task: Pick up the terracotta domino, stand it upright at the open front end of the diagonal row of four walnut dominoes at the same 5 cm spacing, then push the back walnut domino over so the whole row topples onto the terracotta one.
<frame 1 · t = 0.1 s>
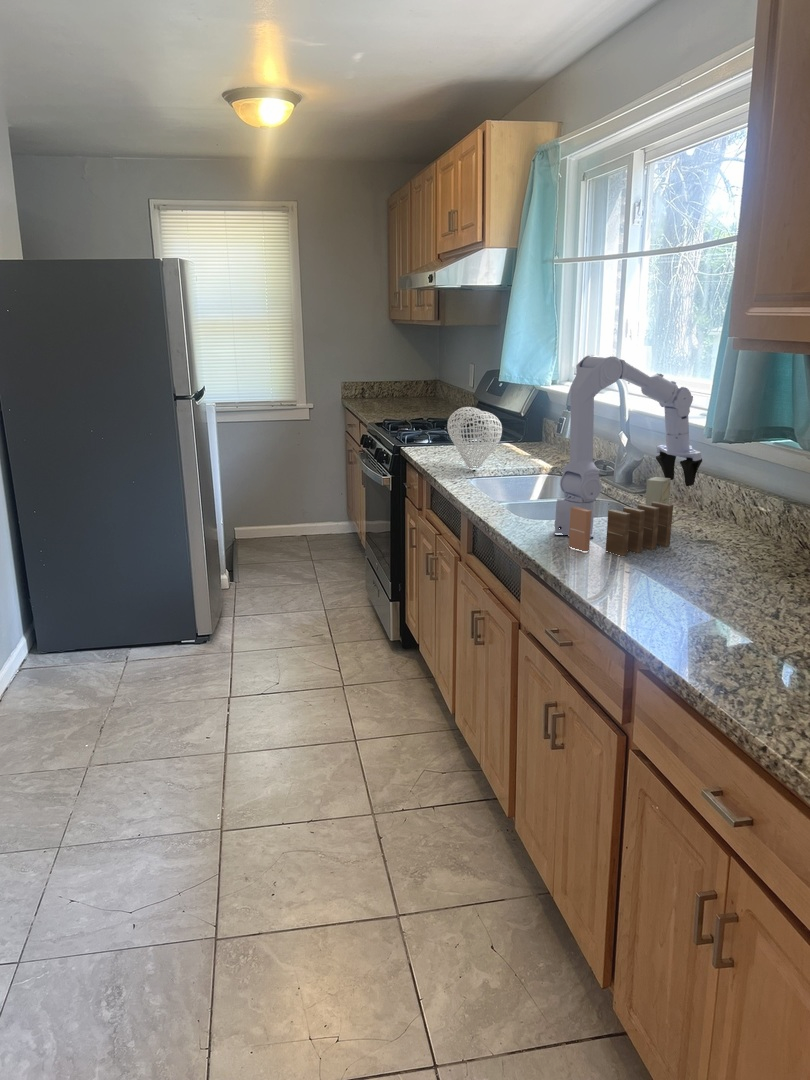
hand: (679, 482, 210), 11 cm above the worktop, tool pointing down, fingers open, 7 cm apart
skincare box: (655, 524, 211), on the worktop
terracotta tile: (578, 550, 186), on the worktop
walnut tile 3: (630, 550, 186), on the worktop
walnut tile 4: (616, 554, 184), on the worktop
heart: (473, 471, 287), on the worktop
walnut tile 2: (645, 547, 189), on the worktop
walnut tile 1: (659, 544, 192), on the worktop
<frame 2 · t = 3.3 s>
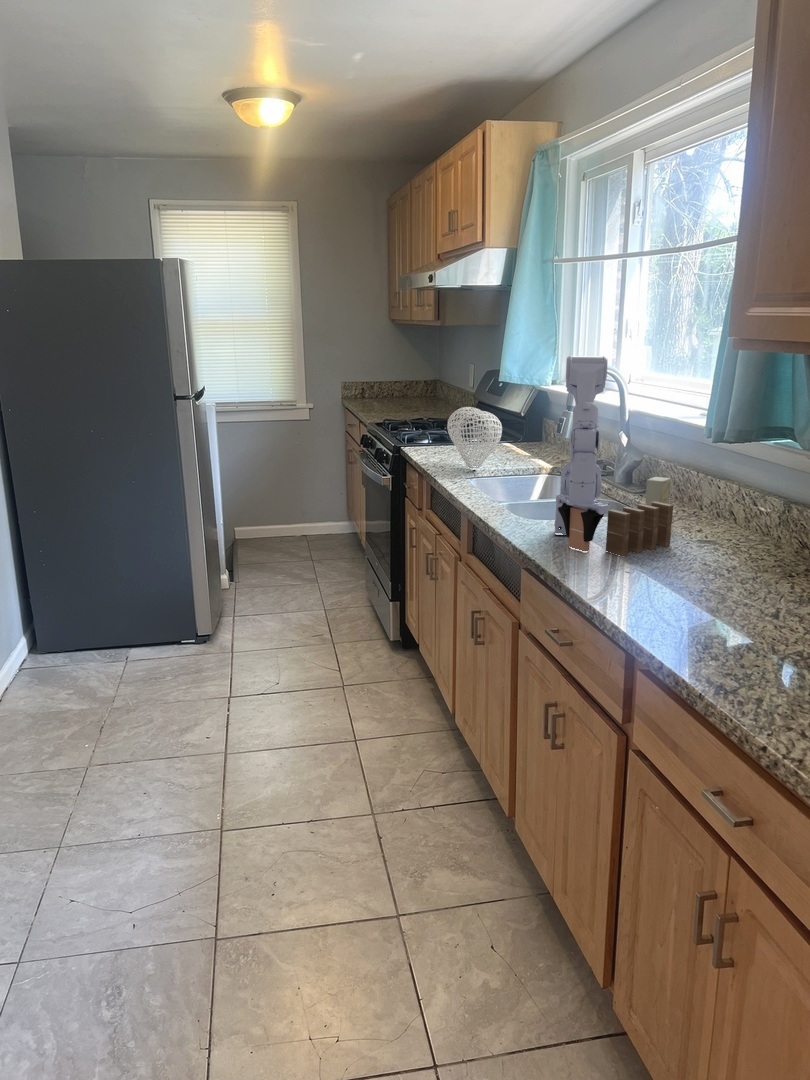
hand: (579, 538, 186), 3 cm above the worktop, tool pointing down, fingers closed on terracotta tile, 5 cm apart
terracotta tile: (578, 550, 186), on the worktop, touching gripper
everything else where it was.
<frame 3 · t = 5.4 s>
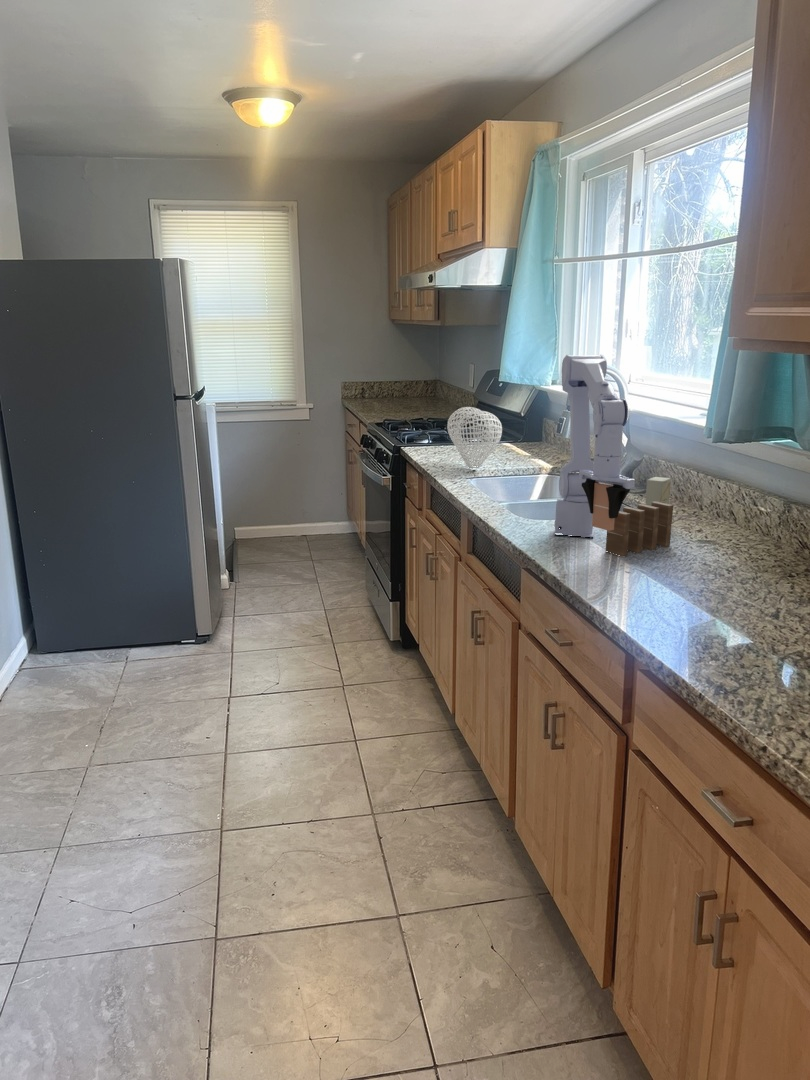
hand: (603, 515, 178), 10 cm above the worktop, tool pointing down, fingers closed on terracotta tile, 5 cm apart
terracotta tile: (602, 527, 179), point 7 cm above the worktop, touching gripper
everything else where it was.
when the fingers open (4 cm above the worktop, at t = 7.3 s): terracotta tile drops 1 cm, on the worktop.
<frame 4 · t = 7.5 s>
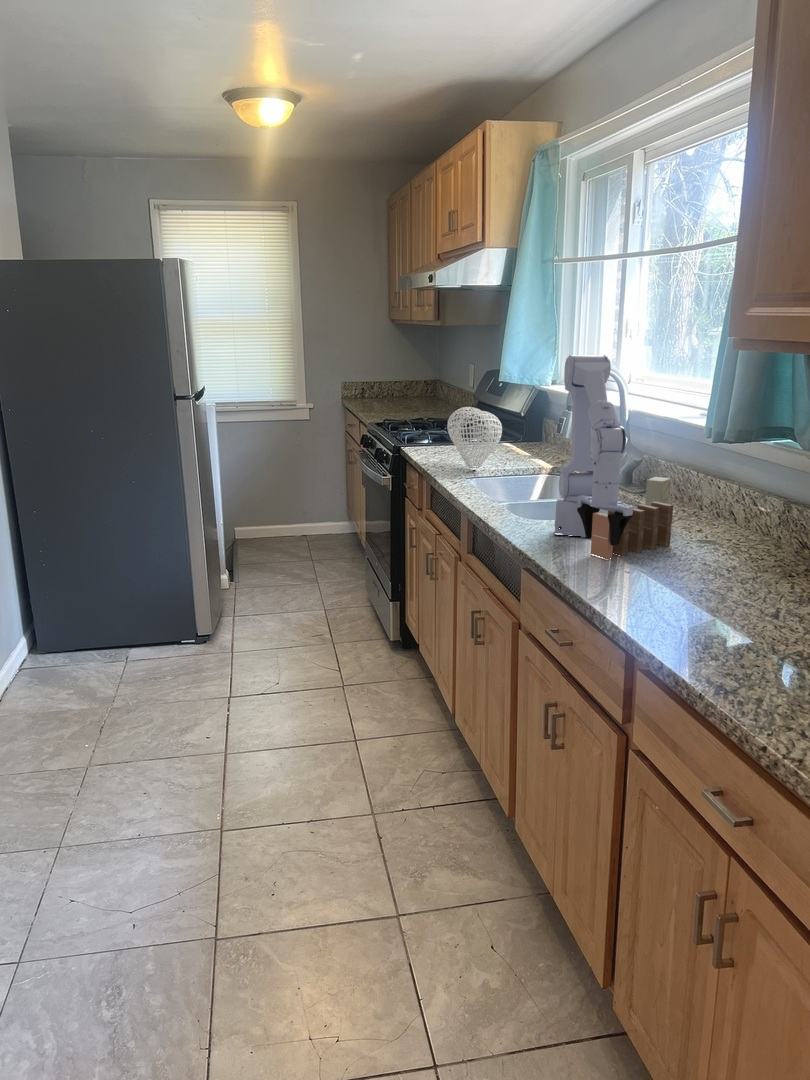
hand: (602, 540, 180), 4 cm above the worktop, tool pointing down, fingers open, 7 cm apart
terracotta tile: (601, 557, 181), on the worktop
everything else where it was.
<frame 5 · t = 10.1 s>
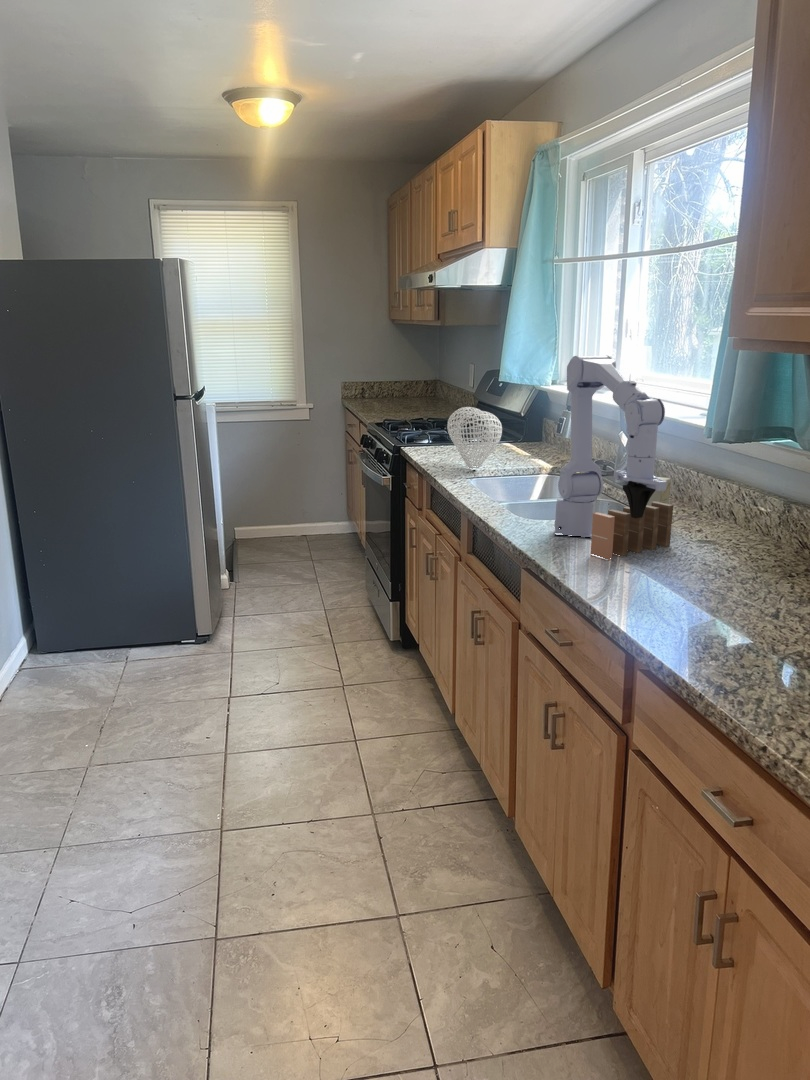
hand: (636, 517, 174), 10 cm above the worktop, tool pointing down, fingers closed
nothing on the worktop moved.
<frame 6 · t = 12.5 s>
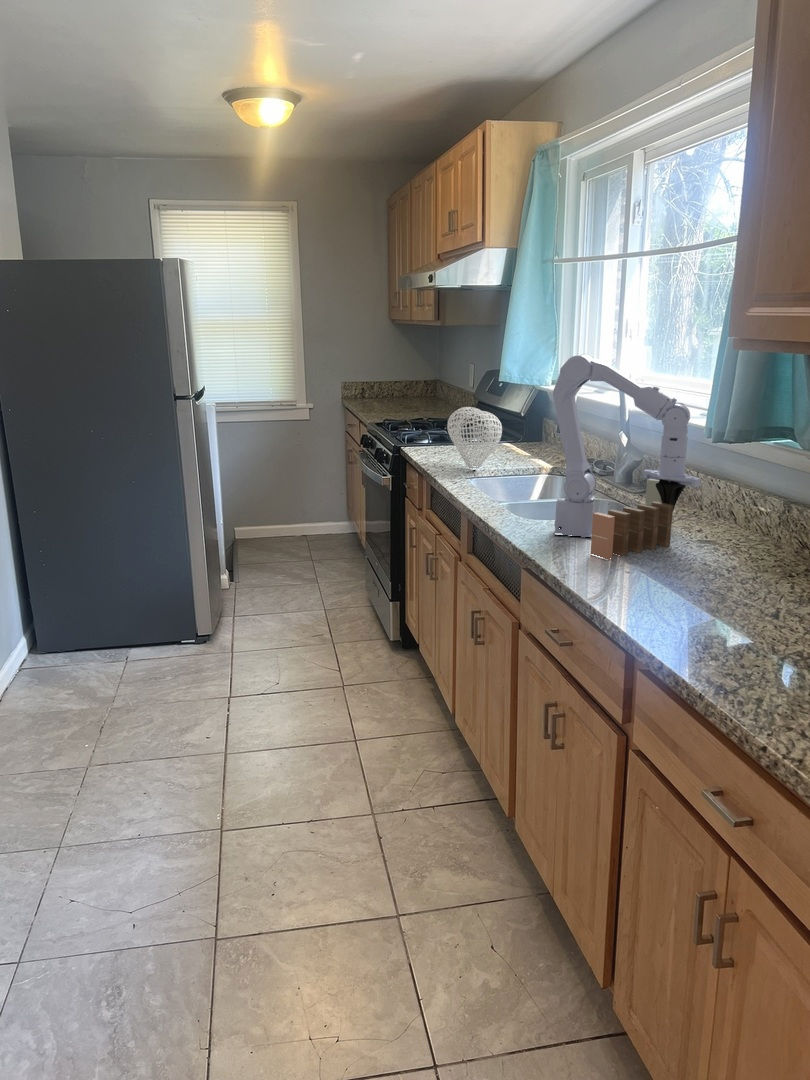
hand: (668, 512, 191), 8 cm above the worktop, tool pointing down, fingers closed
walnut tile 1: (659, 544, 192), on the worktop, touching gripper
everything else where it was.
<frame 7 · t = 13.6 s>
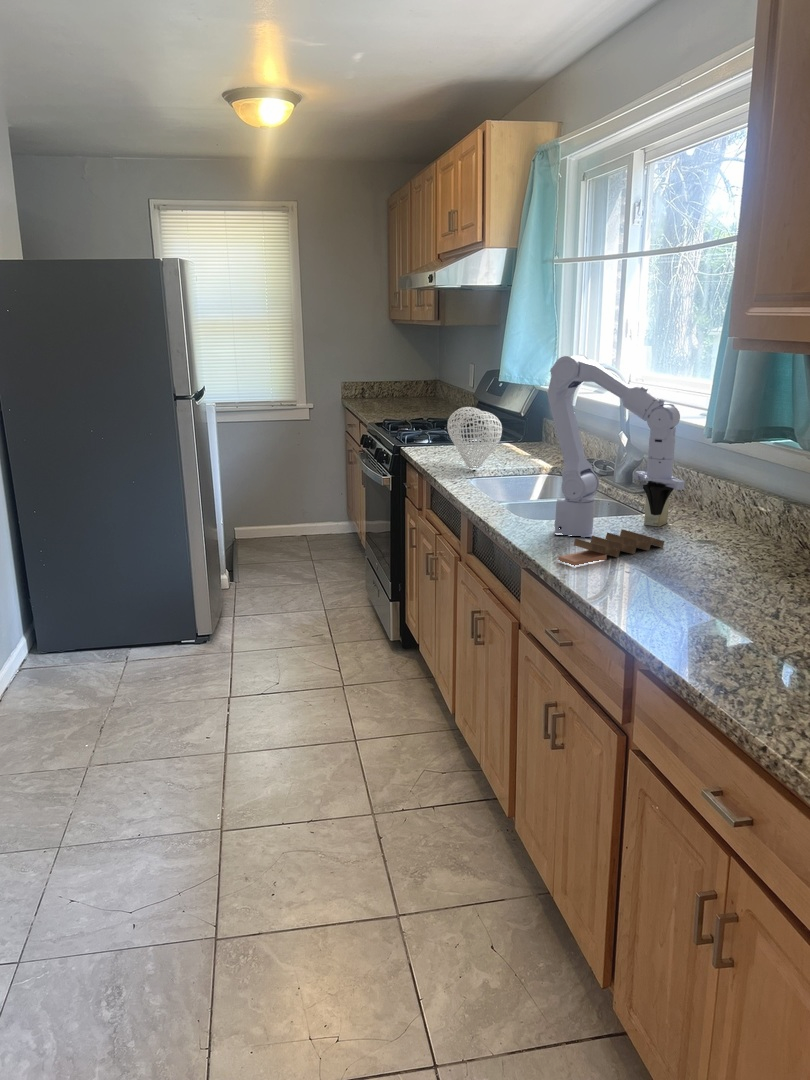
hand: (656, 514, 188), 8 cm above the worktop, tool pointing down, fingers closed
terracotta tile: (598, 555, 180), point 1 cm above the worktop, tilted 90°, touching walnut tile 4
walnut tile 3: (627, 548, 185), point 1 cm above the worktop, tilted 71°, touching walnut tile 2, walnut tile 4
walnut tile 4: (610, 551, 182), point 1 cm above the worktop, tilted 71°, touching terracotta tile, walnut tile 3
walnut tile 2: (641, 545, 188), point 1 cm above the worktop, tilted 71°, touching walnut tile 1, walnut tile 3
walnut tile 1: (655, 542, 190), point 1 cm above the worktop, tilted 71°, touching walnut tile 2
everything else where it was.
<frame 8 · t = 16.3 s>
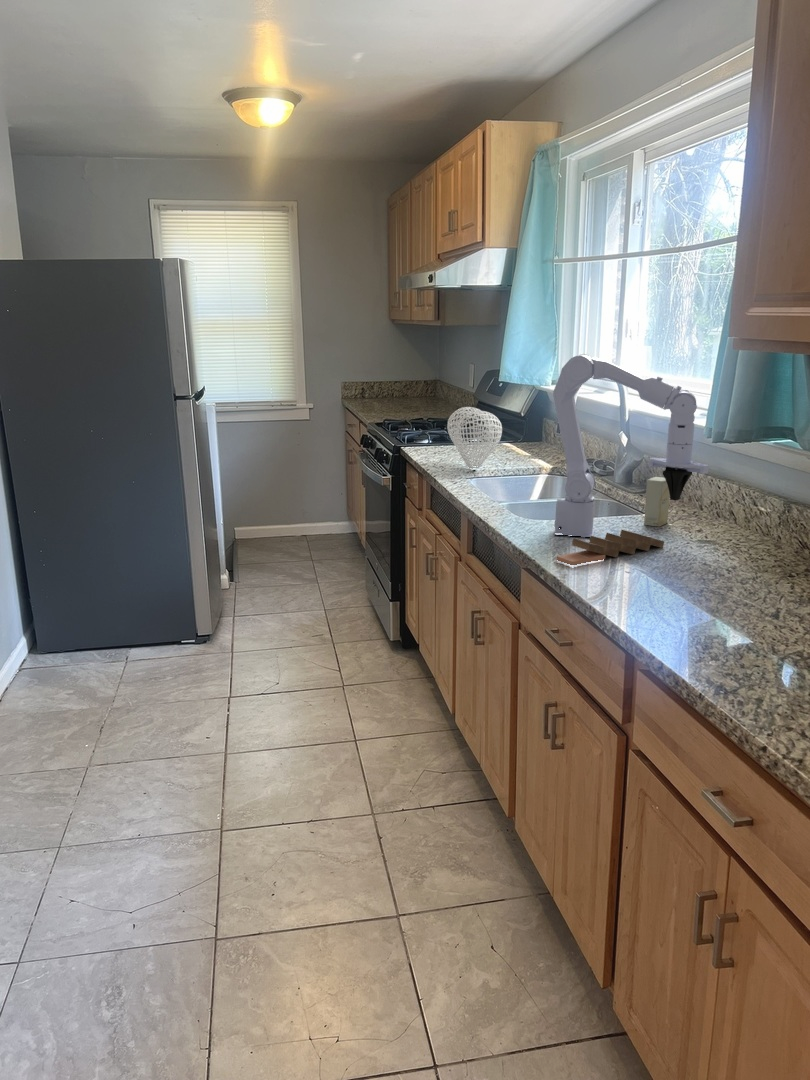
hand: (675, 499, 191), 10 cm above the worktop, tool pointing down, fingers closed
at the end: walnut tile 1 tilted 71°; walnut tile 3 tilted 71°; terracotta tile tilted 90° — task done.
